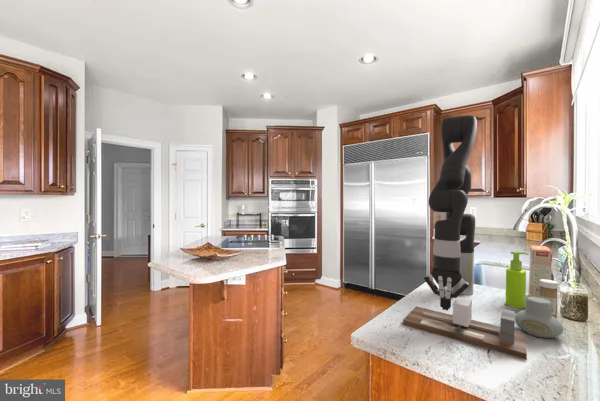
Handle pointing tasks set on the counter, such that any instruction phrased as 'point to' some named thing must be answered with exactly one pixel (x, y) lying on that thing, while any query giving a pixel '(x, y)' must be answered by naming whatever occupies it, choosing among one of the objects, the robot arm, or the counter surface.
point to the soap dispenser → (516, 282)
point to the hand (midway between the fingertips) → (445, 309)
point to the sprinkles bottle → (549, 293)
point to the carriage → (462, 312)
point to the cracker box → (539, 268)
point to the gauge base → (473, 330)
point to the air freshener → (539, 319)
